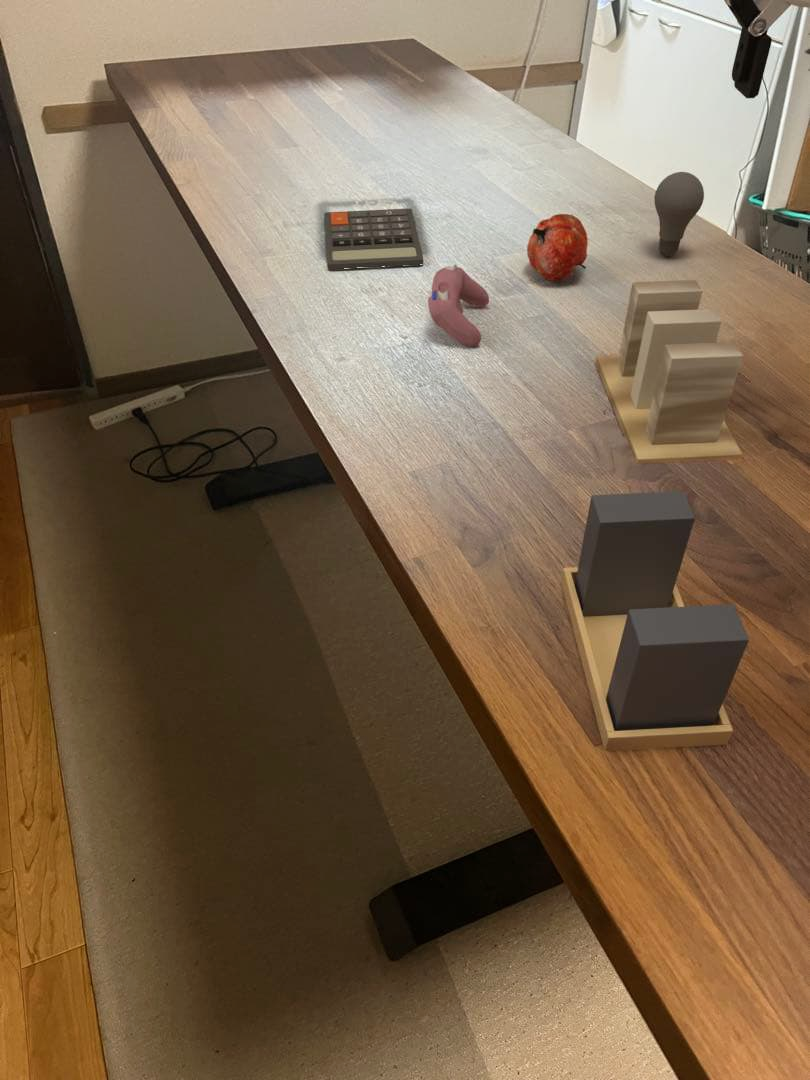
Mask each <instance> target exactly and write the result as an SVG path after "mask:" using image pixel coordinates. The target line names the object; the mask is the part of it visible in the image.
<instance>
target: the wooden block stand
mask: <svg viewBox="0 0 810 1080" xmlns="http://www.w3.org/2000/svg"><path fill="white" fill-rule="evenodd" d="M629 294H630V295H629V300H628V304H627V311H626V316H625V321H624V327H623V332H622V337H621V342H620V346H619V353H618V354H605V355H596V356H595V360H594V361H595V362H594V364H595V367H596V369H597V372H598V375H599V378H600V380H601V382H602V385H603V387H604V390H605V392H606V395H607V397H608V400H609V403H610V406H611V407H612V410H613V412H614V415H615V417H616V420H617V422H618V426H619V428H620V430H621V433H622V435H623V437H624V438H626V440H627V443H628V446H629V448H630V450H631V453H632V456H633V458H634V460H635V463H636V464H637V465H644V464H645V465H647V464H665V463H666V464H670V463H671V464H672V463H690V462H692V463H693V462H713V461H715V462H716V461H735V460H742V458H743V452H742V451H741V448H740V447H739V445H738V443H737V442H736V440H735V437H734V436H733V434H732V432H731V430H730V428H729V427H728V425H727V423H726V421H725V416H726V414H727V410H728V407H729V404H730V401H731V397H732V393H733V390H734V387H735V384H736V380H737V377H738V373H739V371H740V367H741V365H742V360H743V357H744V354H743V353H742V352H741V350H740V348H739V347H738V345H737V343H736V342H735V341H723V342H720V341H719V342H716V343H695V344H670V345H665V347H664V352H663V356H662V360H661V365H660V369H659V374H658V378H657V382H656V387H655V391H654V396H653V400H652V404H651V408H640V409H636V407H635V405H634V403H633V400H632V398H631V396H630V395H631V390H632V385H633V381H634V376H635V371H636V366H637V361H638V356H639V351H640V346H641V342H642V337H643V332H644V327H645V322H646V317H647V312H650V311H675V310H699V307H700V303H701V299H702V296H703V289H702V288H701V286H700V285H699V283H698V281H697V280H696V279H684V280H683V279H682V280H681V279H680V280H659V281H658V280H657V281H656V280H655V281H632V283H631V288H630V292H629Z"/></svg>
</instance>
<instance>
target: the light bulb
mask: <svg viewBox="0 0 810 1080" xmlns="http://www.w3.org/2000/svg"><path fill="white" fill-rule="evenodd" d="M704 191H705V190H704V186H703V184H702V182H701V181H700V179H699V178H698V177H697V176H696V175H694V174H692V173H691V172H687V171H678V172H672V173H671V174H669V175H667V176H666V177H665V178H663V179H662V181H660V183H658V186H657V187H656V190H655V193H654V197H653V198H654V208H655V211H656V213H657V214H656V215H657V216H658V221H659V231H658V237H659V242H658V252H659V254H662V255H663V256H664V257H667V258H668V257H671V256H673V255H676V254H677V253H678V251H679V247H680V244H681V240H682V239H683V238H684V235H685V232H686V230H687V228H688V225H689V223H690V222H691V220H693V218H694V217H695V216H696V215H697V214H698V212H699V211H700V210H701V207H702V206H703V203H704V199H705V192H704Z"/></svg>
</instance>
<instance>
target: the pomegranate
mask: <svg viewBox="0 0 810 1080" xmlns="http://www.w3.org/2000/svg"><path fill="white" fill-rule="evenodd" d="M588 243H589V241H588V234H587V231H586V229H585V227H584V224H583V223H582V221H581V220H580V218H578V217H576V216H574V215H573V214H568V213H559V214H554V215H552V216H551V217H550V218H546V219H542V220H540V221H539V222H538V224H537V226H536V227H535V228H533V230H532V233H531V235H530V236H529V239H528V243H527V246H526V254H527V258H528V261H529V264H530V266H531V267H532V268H533V270H535V271H537V272H539V275H540V276H541V277H543V279H545V280H547V281H549V282H559V283H561V282H563V281H565V280H567V279H570V278H571V277H572V276H573V275H574V273H575V271H574V268H575V267H579V266H580V267H581V268H583V269H585V270H586V269H587V266H585V265H584V263H585V261H586V259H587V257H588V254H587V253H588V251H587V250H588Z"/></svg>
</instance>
